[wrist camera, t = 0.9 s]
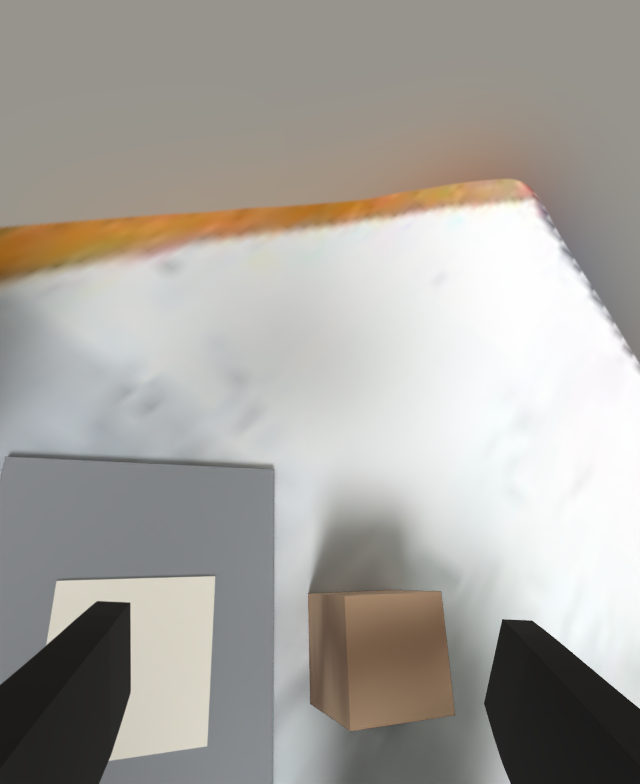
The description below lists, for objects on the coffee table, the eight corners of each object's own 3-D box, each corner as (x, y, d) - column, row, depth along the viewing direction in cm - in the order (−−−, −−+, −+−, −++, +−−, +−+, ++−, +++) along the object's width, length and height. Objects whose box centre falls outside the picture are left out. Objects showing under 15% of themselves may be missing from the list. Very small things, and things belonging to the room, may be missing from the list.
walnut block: (398, 691, 25) (455, 715, 21) (309, 703, 23) (350, 731, 19) (390, 589, 27) (441, 591, 22) (307, 593, 25) (344, 595, 21)
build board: (269, 887, 20) (272, 893, 20) (-108, 985, 16) (-113, 994, 15) (272, 470, 27) (274, 468, 26) (6, 458, 22) (4, 456, 22)
